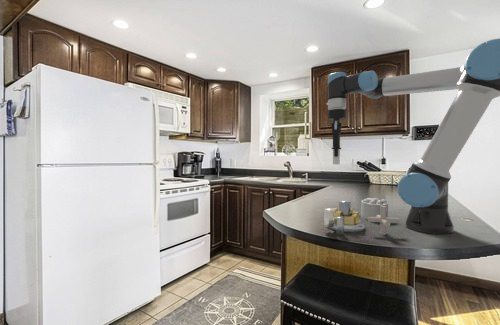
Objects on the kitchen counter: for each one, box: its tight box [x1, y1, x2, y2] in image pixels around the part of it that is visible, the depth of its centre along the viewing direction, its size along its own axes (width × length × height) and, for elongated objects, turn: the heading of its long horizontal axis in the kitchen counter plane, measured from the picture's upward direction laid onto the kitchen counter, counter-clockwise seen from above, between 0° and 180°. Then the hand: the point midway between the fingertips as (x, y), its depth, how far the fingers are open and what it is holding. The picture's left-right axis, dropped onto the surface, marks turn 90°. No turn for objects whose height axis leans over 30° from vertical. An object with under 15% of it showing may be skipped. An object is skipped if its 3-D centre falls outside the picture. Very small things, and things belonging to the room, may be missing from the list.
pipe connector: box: [366, 206, 400, 236], centre depth 91 cm, size 10×10×10 cm
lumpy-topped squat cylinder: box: [360, 197, 389, 220], centre depth 116 cm, size 10×13×9 cm
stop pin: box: [335, 217, 344, 236], centre depth 91 cm, size 2×2×6 cm
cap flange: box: [327, 200, 365, 233], centre depth 101 cm, size 14×14×10 cm
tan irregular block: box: [323, 207, 361, 228], centre depth 98 cm, size 18×11×6 cm, turn 131°
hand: (336, 164), depth 111 cm, fingers closed
